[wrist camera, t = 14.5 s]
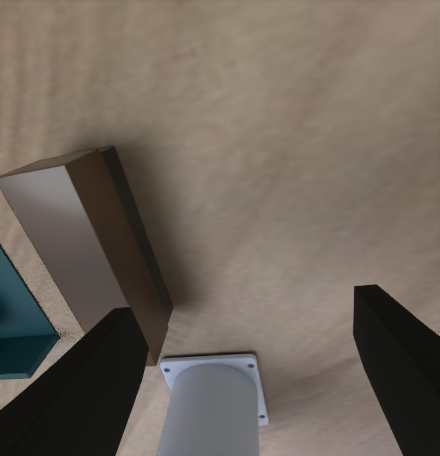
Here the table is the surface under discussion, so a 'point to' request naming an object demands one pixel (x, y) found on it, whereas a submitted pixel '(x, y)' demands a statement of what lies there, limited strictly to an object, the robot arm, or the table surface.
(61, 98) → the table surface
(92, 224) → the brown bar
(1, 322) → the pusher tool
